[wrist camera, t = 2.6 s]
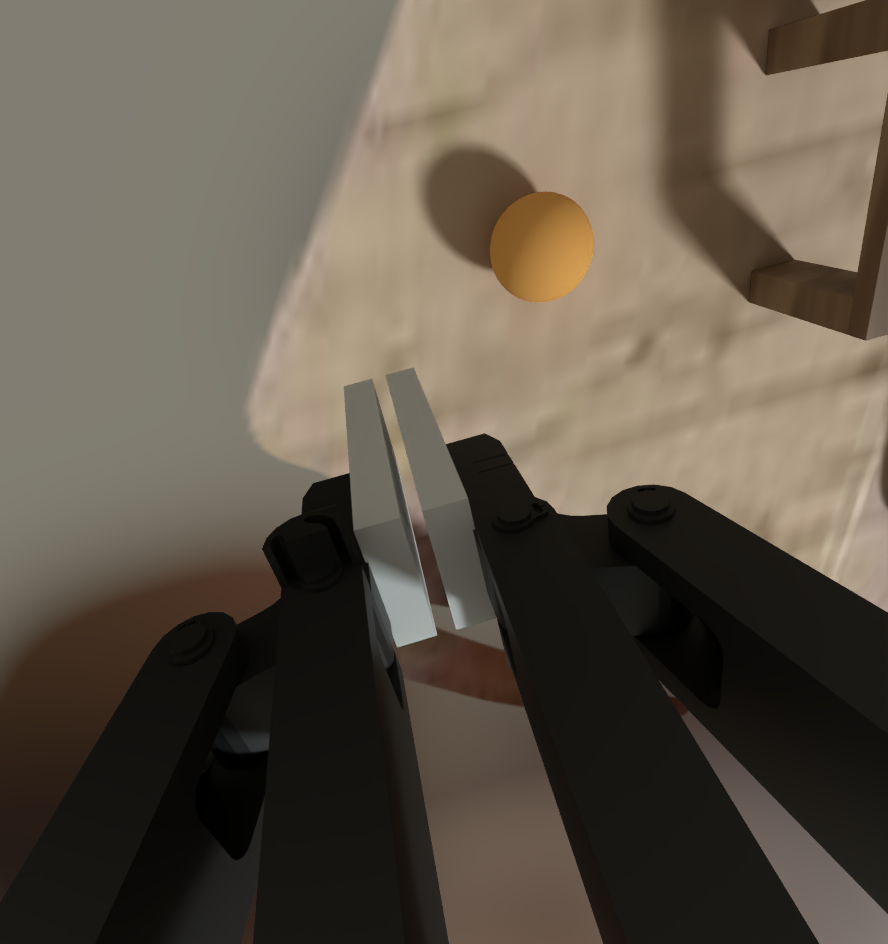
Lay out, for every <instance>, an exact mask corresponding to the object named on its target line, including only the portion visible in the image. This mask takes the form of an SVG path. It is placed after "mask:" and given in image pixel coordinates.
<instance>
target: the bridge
mask: <svg viewBox="0 0 888 944" xmlns="http://www.w3.org/2000/svg"><path fill="white" fill-rule="evenodd" d="M883 51H888V0H865V1H862V2H859V3H855V4H852V5H849V6H846V7H842V8H839V9H836V10H832V11H829V12H826V13H823V14H819V15H816V16H813V17H810V18H806V19H803V20H800V21H796V22H793V23H790V24H787V25H783V26H780V27H777V28H774V29H770V30H769V40H768V54H767V68H766V75H770V74H775V73H780V72H785V71H790V70H795V69H800V68H805V67H809V66H814V65H819V64H824V63H829V62H834V61H839V60H844V59H849V58H854V57H859V56H863V55H868V54H873V53H878V52H883ZM749 302H750V303H753V304H756V305H759V306H762V307H765V308H768V309H771V310H774V311H777V312H780V313H783V314H786V315H789V316H792V317H796V318H799V319H802V320H805V321H808V322H811V323H814V324H817V325H820V326H823V327H826V328H829V329H832V330H835V331H838V332H841V333H844V334H847V335H850V336H853V337H856V338H860V339H863V340H870V339H873V338H877V337H880V336H884V335H887V334H888V95H887V101H886V107H885V113H884V119H883V125H882V131H881V137H880V143H879V148H878V154H877V160H876V166H875V172H874V178H873V184H872V190H871V196H870V202H869V208H868V214H867V220H866V225H865V231H864V237H863V243H862V249H861V255H860V261H859V267H858V273H857V272H853V271H848V270H843V269H838V268H833V267H828V266H823V265H818V264H813V263H809V262H804V261H799V260H792V261H789V262H785V263H781V264H778V265H774V266H770V267H767V268H763V269H759V270H755V271H752V274H751V288H750V301H749Z"/></svg>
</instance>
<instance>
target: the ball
mask: <svg viewBox="0 0 888 944" xmlns="http://www.w3.org/2000/svg"><path fill="white" fill-rule="evenodd" d="M593 250H594V237H593V231H592V227H591V224H590V222H589V219H588V217H587V216H586V214H585V212H584V211H583V210H582V209H581V207H580V206H579V205H577V204H576V203H575V202H574V201H573V200H571V199H570V198H568V197H566V196H564V195H561V194H558V193H554V192H537V193H532V194H529V195H526V196H524V197H522V198H520V199H518V200H517V201H516V202H514V203H513V204H511V205H510V206H509V207H508V208H507V209H506V210H505V211H504V213H503V214H502V215H501V217H500V218H499V220H498V222H497V223H496V225H495V228H494V230H493V233H492V237H491V243H490V259H491V264H492V267H493V270H494V273H495V275H496V277H497V279H498V280H499V282H500V283H501V285H502V286H503V287H504V288H505V289H506V290H507V291H508V292H510V293H511V294H512V295H514V296H516V297H518V298H520V299H523V300H525V301H530V302H547V301H552V300H555V299H558V298H560V297H562V296H564V295H566V294H567V293H569V292H570V291H571V290H572V289H574V288H575V287H576V286H577V285H578V284H579V283H580V281H581V280H582V279H583V277H584V276H585V274H586V272H587V270H588V268H589V266H590V263H591V260H592V256H593Z"/></svg>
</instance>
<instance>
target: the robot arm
mask: <svg viewBox="0 0 888 944" xmlns="http://www.w3.org/2000/svg"><path fill="white" fill-rule="evenodd" d="M386 379H387V382H388V386H389V390H390V394H391V397H392V401H393V405H394V408H395V412H396V416H397V420H398V423H399V427H400V431H401V434H402V438H403V442H404V446H405V449H406V453H407V457H408V460H409V464H410V468H411V471H412V475H413V479H414V483H415V486H416V490H417V494H418V497H419V501H420V505H421V509H422V512H423V516H424V519H425V523H426V526H427V530H428V533H429V537H430V540H431V544H432V547H433V550H434V554H435V557H436V561H437V564H438V568H439V571H440V575H441V578H442V582H443V585H444V589H445V592H446V596H447V599H448V603H449V606H450V609H451V613H452V616H453V620H454V623H455V627H456V629H461V628H464V627H467V626H471V625H474V624H477V623H481V622H484V621H487V620H491V619H494V618H496V617H497V620H498V625H499V629H500V633H501V637H502V642H503V646H504V651H505V655H506V659H507V664H508V668H512V671H513V674H514V677H515V680H516V683H517V686H518V689H519V692H520V695H521V698H522V701H523V704H524V707H525V710H526V713H527V716H528V719H529V722H530V725H531V728H532V731H533V734H534V737H535V740H536V743H537V746H538V749H539V752H540V755H541V758H542V761H543V764H544V767H545V770H546V773H547V776H548V779H549V782H550V785H551V788H552V791H553V794H554V797H555V800H556V803H557V806H558V809H559V812H560V815H561V818H562V821H563V824H564V827H565V830H566V833H567V836H568V839H569V842H570V845H571V848H572V851H573V854H574V857H575V860H576V863H577V866H578V869H579V872H580V875H581V878H582V881H583V884H584V887H585V890H586V893H587V896H588V899H589V902H590V905H591V908H592V911H593V914H594V917H595V920H596V923H597V926H598V929H599V932H600V935H601V938H602V941H603V944H819V943H818V941H817V939H816V938H815V936H814V934H813V933H812V931H811V930H810V928H809V926H808V925H807V923H806V921H805V920H804V918H803V917H802V915H801V913H800V911H799V910H798V908H797V906H796V905H795V903H794V902H793V900H792V898H791V897H790V895H789V894H788V892H787V890H786V889H785V887H784V885H783V883H782V882H781V880H780V879H779V877H778V875H777V874H776V872H775V870H774V869H773V867H772V866H771V864H770V862H769V861H768V859H767V857H766V856H765V854H764V852H763V851H762V849H761V847H760V846H759V844H758V843H757V841H756V839H755V838H754V836H753V834H752V833H751V831H750V829H749V828H748V826H747V824H746V823H745V821H744V819H743V818H742V816H741V815H740V813H739V811H738V810H737V808H736V806H735V805H734V803H733V802H732V800H731V798H730V796H729V795H728V793H727V792H726V790H725V788H724V787H723V785H722V783H721V782H720V780H719V778H718V777H717V775H716V774H715V772H714V770H713V769H712V767H711V765H710V764H709V762H708V761H707V759H706V757H705V756H704V754H703V752H702V751H701V749H700V747H699V746H698V744H697V742H696V741H695V739H694V737H693V736H692V734H691V732H690V731H689V729H688V728H687V726H686V724H685V723H684V721H683V719H682V718H681V716H680V714H679V713H678V711H677V709H676V708H675V706H674V705H673V703H672V701H671V700H670V698H669V696H668V695H667V693H666V691H665V690H664V688H663V687H662V685H661V683H660V682H659V681H661V682H662V684H663V685H664V686H665V687H666V688H667V689H668V690H669V691H670V692H671V693H672V694H673V695H674V696H675V697H676V698H677V699H678V700H679V701H680V702H681V703H682V704H683V705H684V706H685V707H686V708H687V709H688V710H689V711H690V712H691V713H692V714H693V715H694V716H695V717H696V719H697V720H699V722H700V723H702V725H703V726H704V727H705V728H706V729H707V730H708V731H709V732H710V733H711V734H712V735H713V736H714V737H715V738H716V739H717V740H718V741H719V742H720V743H721V744H722V745H723V746H724V747H725V748H726V749H727V750H728V751H729V752H730V753H731V754H732V755H733V756H734V757H735V758H736V759H737V760H738V761H739V762H740V763H741V764H742V765H743V767H745V768H746V770H747V771H748V772H749V773H750V774H751V775H752V776H753V777H754V778H755V779H756V780H757V781H758V782H759V783H760V784H761V785H762V786H763V787H764V788H765V789H766V790H767V791H768V792H769V793H770V794H771V795H772V796H773V797H774V798H775V799H776V800H777V801H778V802H779V803H780V804H781V805H782V806H783V807H784V808H785V809H786V810H787V811H788V813H790V815H792V817H793V818H794V819H796V821H797V822H798V823H799V824H800V825H801V826H802V827H803V828H804V829H805V830H806V831H807V832H808V833H809V834H810V835H811V836H812V837H813V838H814V839H815V840H816V841H817V842H818V843H819V844H820V845H821V846H822V847H823V848H824V849H825V850H826V851H827V852H828V853H829V854H830V855H831V856H832V857H833V859H834V860H835V861H836V862H837V863H838V864H839V865H840V866H841V867H842V868H843V869H844V870H845V871H846V872H847V873H848V874H849V875H850V876H851V877H852V878H853V879H854V880H855V881H856V882H857V883H858V884H859V885H860V886H861V887H862V888H863V889H864V890H865V891H866V892H867V893H868V894H869V895H870V896H871V897H872V898H873V899H874V900H875V901H876V902H877V903H878V904H879V905H880V906H881V908H882V909H883V910H884V911H885V912H886V913H887V914H888V612H886V611H884V610H883V609H881V608H879V607H877V606H876V605H874V604H872V603H871V602H869V601H867V600H866V599H864V598H862V597H860V596H859V595H857V594H855V593H854V592H852V591H850V590H849V589H847V588H845V587H844V586H842V585H840V584H838V583H837V582H835V581H833V580H832V579H830V578H828V577H827V576H825V575H823V574H822V573H820V572H818V571H816V570H815V569H813V568H811V567H810V566H808V565H806V564H805V563H803V562H801V561H800V560H798V559H796V558H794V557H793V556H791V555H789V554H788V553H786V552H784V551H783V550H781V549H779V548H778V547H776V546H774V545H772V544H771V543H769V542H767V541H766V540H764V539H762V538H761V537H759V536H757V535H756V534H754V533H752V532H750V531H749V530H747V529H745V528H744V527H742V526H740V525H739V524H737V523H735V522H734V521H732V520H730V519H728V518H727V517H725V516H723V515H722V514H720V513H718V512H717V511H715V510H713V509H712V508H710V507H708V506H706V505H705V504H703V503H701V502H700V501H698V500H696V499H695V498H693V497H691V496H690V495H688V494H686V493H684V492H682V491H679V490H677V489H674V488H672V487H667V486H660V485H642V486H635V487H632V488H629V489H625V490H622V491H621V492H619V493H618V494H617V495H615V496H614V497H612V498H611V500H610V502H609V503H608V505H607V514H604V515H590V516H569V515H563V514H558V513H556V511H555V509H554V508H553V507H552V506H551V505H550V504H549V503H548V502H547V501H544V500H541V499H539V498H536V497H534V495H533V493H532V492H531V490H530V489H529V487H528V485H527V484H526V482H525V481H524V479H523V477H522V476H521V474H520V472H519V471H518V469H517V468H516V466H515V465H514V464H513V461H512V460H511V458H510V456H509V455H508V454H507V451H506V450H505V448H504V447H503V445H502V443H501V442H500V441H499V440H497V439H495V438H493V437H491V436H489V435H487V434H481V435H478V436H474V437H470V438H467V439H463V440H460V441H456V442H453V443H449V444H445V442H444V439H443V437H442V435H441V432H440V430H439V427H438V425H437V423H436V420H435V418H434V415H433V413H432V411H431V408H430V406H429V403H428V401H427V399H426V396H425V394H424V391H423V389H422V387H421V384H420V382H419V379H418V377H417V375H416V372H415V370H414V368H410V369H406V370H403V371H399V372H395V373H392V374H388V375H386ZM344 397H345V412H346V426H347V441H348V456H349V471H350V473H348V474H345V475H341V476H337V477H334V478H330V479H327V480H323V481H320V482H316V483H313V484H312V486H311V487H310V489H309V490H308V491H307V493H306V495H305V496H304V497H303V502H302V514H301V515H299V516H296V517H294V518H291V519H289V520H288V521H286V522H285V523H283V524H282V525H280V526H279V527H277V528H276V529H275V530H274V531H273V532H272V533H271V534H270V535H269V536H268V537H267V538H266V541H265V543H264V545H263V548H262V550H263V551H264V554H265V556H266V558H267V560H268V562H269V564H270V566H271V568H272V570H273V572H274V574H275V576H276V578H277V580H278V582H279V584H280V586H281V598H280V599H279V600H278V601H277V602H275V603H274V604H273V605H271V606H270V607H268V608H267V609H265V610H263V611H262V612H260V613H258V614H256V615H254V616H253V617H251V618H249V619H247V620H245V621H243V622H241V623H239V624H236V622H235V621H234V619H233V618H232V617H231V616H229V615H227V614H225V613H224V612H208V613H205V614H201V615H197V616H194V617H192V618H190V619H188V620H186V621H184V622H183V623H180V624H178V625H177V626H176V627H174V628H173V629H172V630H171V631H169V632H168V633H167V634H166V635H164V636H163V637H162V639H161V640H160V641H159V642H158V643H157V645H156V646H155V647H154V649H153V650H152V651H151V653H150V655H149V656H148V658H147V660H146V661H145V663H144V664H143V666H142V668H141V669H140V671H139V673H138V674H137V676H136V678H135V679H134V681H133V683H132V685H131V686H130V688H129V689H128V691H127V693H126V694H125V696H124V698H123V699H122V701H121V703H120V704H119V706H118V708H117V709H116V711H115V712H114V714H113V716H112V717H111V719H110V721H109V723H108V724H107V726H106V727H105V729H104V731H103V732H102V734H101V736H100V737H99V739H98V741H97V743H96V744H95V746H94V747H93V749H92V751H91V752H90V754H89V756H88V757H87V759H86V761H85V763H84V764H83V766H82V767H81V769H80V771H79V772H78V774H77V776H76V777H75V779H74V781H73V782H72V784H71V786H70V787H69V789H68V791H67V792H66V794H65V796H64V797H63V799H62V801H61V802H60V804H59V806H58V807H57V809H56V810H55V812H54V814H53V816H52V817H51V819H50V821H49V822H48V824H47V826H46V827H45V829H44V830H43V832H42V834H41V835H40V837H39V839H38V840H37V842H36V844H35V845H34V847H33V849H32V851H31V852H30V854H29V855H28V857H27V859H26V860H25V862H24V864H23V865H22V867H21V869H20V870H19V872H18V874H17V875H16V877H15V879H14V880H13V882H12V883H11V885H10V887H9V889H8V890H7V892H6V894H5V895H4V897H3V898H2V900H1V902H0V944H241V942H242V938H243V935H244V931H245V927H246V924H247V920H248V916H249V913H250V909H251V905H252V902H253V898H254V894H255V891H256V887H257V884H258V888H257V901H256V913H255V925H254V938H253V944H449V941H448V936H447V929H446V924H445V918H444V913H443V906H442V900H441V895H440V889H439V883H438V878H437V872H436V866H435V860H434V855H433V849H432V842H431V837H430V831H429V825H428V819H427V814H426V808H425V802H424V796H423V790H422V784H421V779H420V773H419V767H418V761H417V756H416V750H415V744H414V738H413V733H412V728H411V727H412V726H411V721H410V715H409V709H408V703H407V698H406V692H405V686H404V680H403V674H402V669H401V667H400V664H399V662H398V659H397V656H396V654H395V651H394V644H393V637H394V640H395V642H396V645H397V647H400V646H403V645H407V644H410V643H414V642H417V641H420V640H424V639H427V638H430V637H434V636H437V632H436V628H435V624H434V619H433V615H432V611H431V606H430V602H429V598H428V593H427V589H426V584H425V580H424V576H423V571H422V567H421V563H420V558H419V554H418V550H417V545H416V541H415V537H414V532H413V528H412V524H411V519H410V515H409V511H408V506H407V502H406V498H405V493H404V489H403V485H402V480H401V476H400V472H399V467H398V464H397V460H396V457H395V454H394V450H393V447H392V444H391V440H390V437H389V434H388V430H387V427H386V424H385V420H384V417H383V414H382V410H381V407H380V404H379V400H378V397H377V394H376V390H375V387H374V384H373V380H372V379H370V380H366V381H362V382H359V383H355V384H351V385H348V386H344ZM495 614H496V617H495ZM392 634H393V636H392Z"/></svg>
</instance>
